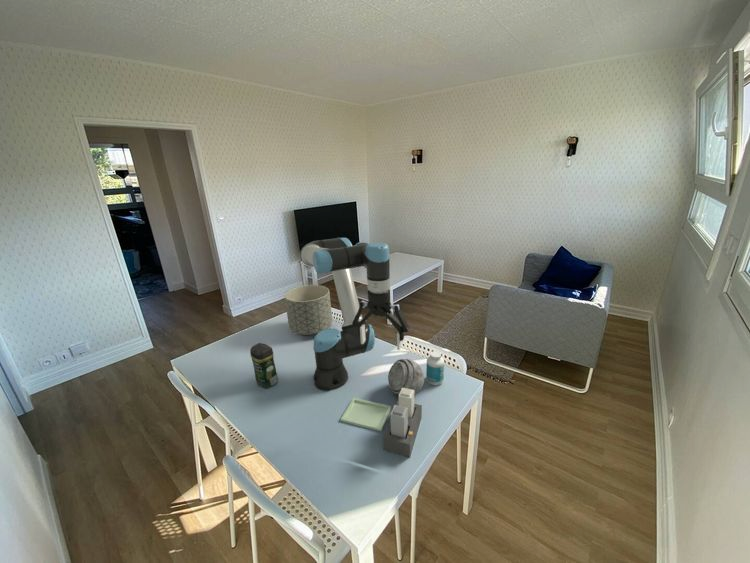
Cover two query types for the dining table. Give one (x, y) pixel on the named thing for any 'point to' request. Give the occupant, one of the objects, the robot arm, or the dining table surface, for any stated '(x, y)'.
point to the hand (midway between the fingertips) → (380, 345)
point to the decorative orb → (405, 376)
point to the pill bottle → (435, 368)
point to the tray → (366, 414)
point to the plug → (399, 422)
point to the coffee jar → (264, 365)
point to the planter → (308, 309)
